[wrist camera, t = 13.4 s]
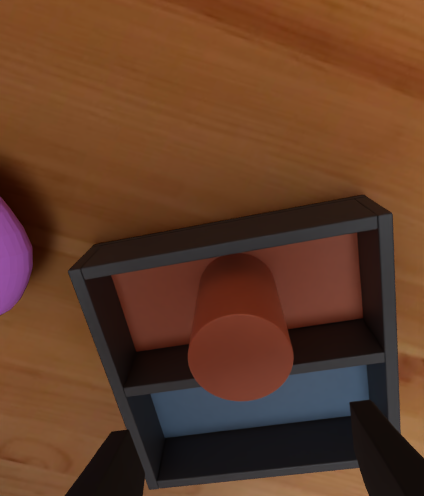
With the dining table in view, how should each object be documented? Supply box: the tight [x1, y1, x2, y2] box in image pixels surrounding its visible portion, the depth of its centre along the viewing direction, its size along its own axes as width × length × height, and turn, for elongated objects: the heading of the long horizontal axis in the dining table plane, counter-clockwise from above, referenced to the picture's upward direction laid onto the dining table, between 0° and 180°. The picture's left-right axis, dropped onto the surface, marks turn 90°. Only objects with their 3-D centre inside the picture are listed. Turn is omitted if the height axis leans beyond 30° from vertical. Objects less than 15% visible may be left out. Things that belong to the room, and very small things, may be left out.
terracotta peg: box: [188, 253, 294, 401], centre depth 17 cm, size 4×4×6 cm
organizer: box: [68, 195, 401, 490], centre depth 19 cm, size 14×14×3 cm
